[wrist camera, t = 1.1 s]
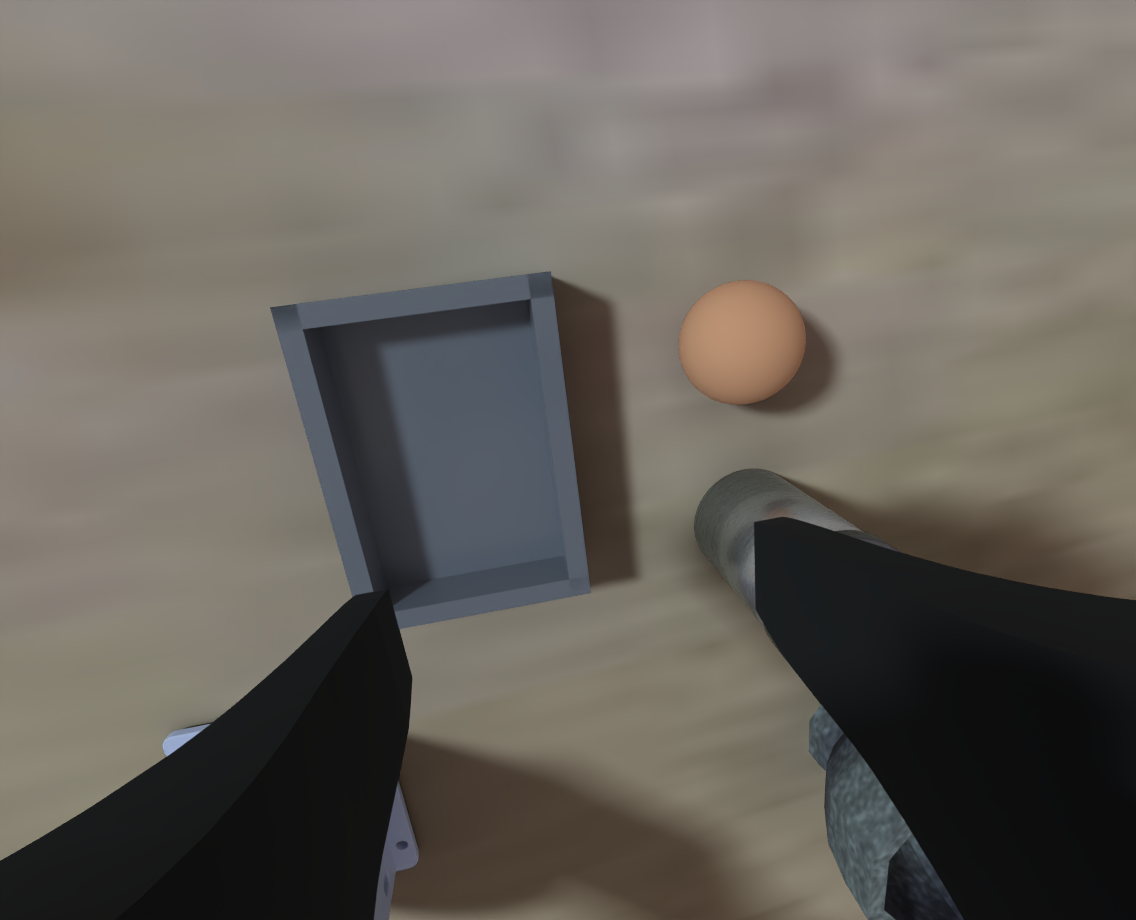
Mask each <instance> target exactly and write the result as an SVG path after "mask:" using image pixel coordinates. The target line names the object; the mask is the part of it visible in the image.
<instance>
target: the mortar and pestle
mask: <svg viewBox="0 0 1136 920" xmlns="http://www.w3.org/2000/svg"><path fill="white" fill-rule="evenodd" d="M809 752H810V753H811V755H812V756H813V757H814V759H815V760H816V761H817V763H818V764H819V765H820V766H821V767H822V768H823V769H824V770H826V784H825V805H824V808H825V817H826V827H827V836H828V844H829V846H830V848H831V851H832V853H833V855H834V858H835V860H836V862H837V864H838V867H839V869H840V871H841V874H842V876H843V878H844V881H845V883H846V884H847V886H848V888H849V889H850V891H851V893H852V894H853V896H854V898H855V899H856V901H857V903H858V904H859V906H860V908H861V909H862V911H863V913H864V914H865V916H866V918H867V919H868V920H964V919H963V917H962V916H961V914H960V912H959V910H958V909H957V907H956V905H955V903H954V902H953V900H952V898H951V896H950V895H949V893H948V891H947V890H946V888H945V886H944V885H943V883H942V881H941V880H940V878H939V876H938V875H937V873H936V871H935V870H934V868H933V867H932V865H931V863H930V862H929V860H928V858H927V857H926V855H925V853H924V852H923V850H922V849H921V847H920V845H919V844H918V842H917V840H916V839H915V837H914V835H913V834H912V832H911V831H910V829H909V827H908V826H907V824H906V823H905V821H904V819H903V818H902V816H901V815H900V813H899V812H898V810H897V809H896V807H895V805H894V804H893V802H892V801H891V799H890V798H889V796H888V795H887V793H886V792H885V790H884V788H883V787H882V785H881V784H880V782H879V781H878V779H877V778H876V776H875V774H874V773H873V771H872V770H871V769H870V767H869V766H868V764H867V763H866V762H865V760H864V759H863V758H862V756H861V755H860V753H859V752H858V751H857V749H856V748H855V747H854V745H853V744H852V743H851V742H850V740H849V739H848V738H847V736H846V735H845V734H844V733H843V731H842V730H841V729H840V728H839V726H838V725H837V724H836V723H835V721H834V720H833V719H832V717H831V716H830V715H829V714H828V712H827V711H826V710H825V709H824V707H823V706H822V705H821V706H820V707H819V709H818V710H817V711H816V713H815V714H814V715H813V717H812V718H811V719H810V731H809Z"/></svg>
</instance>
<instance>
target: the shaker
mask: <svg viewBox="0 0 1136 920" xmlns="http://www.w3.org/2000/svg"><path fill="white" fill-rule="evenodd" d="M778 517H788V518H793V519H797V520H801V521H804V522H807V523H811V524H814V525H817V526H820V527H823V528H827V529H830V530H833V531H836V532H839V533H842V534H845V535H848V536H851V537H854V538H857V539H860V540H863V541H866V542H869V543H872V544H875V545H878V546H881V547H884V548H888V549H891V550H894V551H897V552H900V551H898V550H897V549H896V548H894V547H892V546H891V545H889V544H888V543H886V542H885V541H883V540H882V539H880V538H879V537H877V536H875V535H872V534H870V533H867V532H863V531H862V530H860V529H859V528H857V527H856V526H854V525H853V524H851V523H850V522H848V521H847V520H845V519H844V518H842V517H841V516H839V515H837V514H836V513H834V512H833V511H831V510H830V509H828V508H827V507H825V506H824V505H822V504H821V503H819V502H818V501H816V500H815V499H813V498H812V497H810V496H809V495H807V494H806V493H804V492H803V491H801V490H799V489H798V488H796V487H795V486H793V485H792V484H790V483H789V482H787V481H786V480H784V479H783V478H781V477H780V476H778V475H777V474H775V473H773V472H770V471H767V470H763V469H744V470H740V471H736V472H734V473H731V474H729V475H727V476H725V477H723V478H722V479H720V480H719V481H718V482H716V483H715V484H714V485H713V486H712V487H711V488H710V489H709V490H708V491H707V493H706V494H705V495H704V497H703V498H702V500H701V502H700V504H699V506H698V508H697V512H696V515H695V521H694V531H695V537H696V540H697V543H698V545H699V547H700V549H701V550H702V552H703V553H704V554H705V555H706V557H707V558H708V559H709V560H710V562H711V563H712V564H713V565H714V566H715V568H716V569H717V570H718V571H719V573H720V574H721V575H722V576H723V578H724V579H725V580H726V581H727V582H728V584H729V585H730V586H731V587H732V589H733V590H734V591H735V592H736V593H737V595H738V596H739V597H740V598H741V600H742V601H743V602H744V603H745V605H746V606H747V607H748V608H749V609H750V611H751V612H752V613H753V614H754V616H755V617H756V618H757V619H758V621H759V622H760V623H761V624H762V625H763V627H764V628H765V631H766V633H767V635H768V637H769V638H770V640H771V642H772V643H773V644H774V645H775V647H776V648H777V649H778V647H777V646H776V644H775V642H774V641H773V639H772V638H771V636H770V634H769V633H768V631H767V629H766V627H765V625H764V624H763V622H762V620H761V618H760V617H759V615H758V613H757V611H756V609H755V555H754V522H756V521H761V520H767V519H772V518H778ZM778 650H779V649H778ZM779 652H780V651H779ZM780 653H781V652H780ZM781 654H782V653H781ZM783 657H784V656H783ZM784 658H785V657H784Z"/></svg>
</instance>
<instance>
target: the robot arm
mask: <svg viewBox="0 0 1136 920" xmlns="http://www.w3.org/2000/svg"><path fill="white" fill-rule="evenodd" d="M754 555H755V609H756V611H757V613H758V615H759V617H760V618H761V620H762V622H763V624H764V625H765V627H766V629H767V631H768V633H769V634H770V636H771V638H772V639H773V641H774V642H775V644H776V646H777V647H778V649H779V651H780V652H781V653H782V655H783V656H784V657H785V659H786V660H787V661H788V663H789V664H790V665H791V667H792V668H793V669H794V670H795V672H796V673H797V674H798V676H799V677H800V678H801V679H802V681H803V682H804V683H805V685H806V686H807V687H808V688H809V690H810V691H811V692H812V693H813V695H814V696H815V697H816V699H817V700H818V701H819V702H820V704H821V705H822V706H823V707H824V709H825V710H826V711H827V712H828V714H829V715H830V716H831V717H832V719H833V720H834V721H835V723H836V724H837V725H838V726H839V728H840V729H841V730H842V731H843V733H844V734H845V735H846V736H847V738H848V739H849V740H850V742H851V743H852V744H853V745H854V747H855V748H856V749H857V751H858V752H859V753H860V755H861V756H862V758H863V759H864V760H865V762H866V763H867V764H868V766H869V767H870V769H871V770H872V771H873V773H874V774H875V776H876V778H877V779H878V781H879V782H880V784H881V785H882V787H883V788H884V790H885V792H886V793H887V795H888V796H889V798H890V799H891V801H892V802H893V804H894V805H895V807H896V809H897V810H898V812H899V813H900V815H901V816H902V818H903V819H904V821H905V823H906V824H907V826H908V827H909V829H910V831H911V832H912V834H913V835H914V837H915V839H916V840H917V842H918V844H919V845H920V847H921V849H922V850H923V852H924V853H925V855H926V857H927V858H928V860H929V862H930V863H931V865H932V867H933V868H934V870H935V871H936V873H937V875H938V876H939V878H940V880H941V881H942V883H943V885H944V886H945V888H946V890H947V891H948V893H949V895H950V896H951V898H952V900H953V902H954V903H955V905H956V907H957V909H958V910H959V912H960V914H961V916H962V917H963V919H964V920H1136V600H1128V599H1119V598H1111V597H1104V596H1098V595H1091V594H1085V593H1078V592H1072V591H1065V590H1059V589H1053V588H1047V587H1041V586H1036V585H1030V584H1025V583H1020V582H1015V581H1011V580H1006V579H1001V578H997V577H992V576H988V575H983V574H978V573H974V572H970V571H966V570H962V569H958V568H954V567H950V566H946V565H942V564H939V563H935V562H932V561H928V560H925V559H921V558H917V557H914V556H910V555H907V554H904V553H901V552H897V551H894V550H891V549H888V548H884V547H881V546H878V545H875V544H872V543H869V542H866V541H863V540H860V539H857V538H854V537H851V536H848V535H845V534H842V533H839V532H836V531H833V530H830V529H827V528H823V527H820V526H817V525H814V524H811V523H807V522H804V521H801V520H797V519H793V518H788V517H778V518H772V519H767V520H761V521H756V522H754ZM411 691H412V675H411V671H410V667H409V663H408V660H407V656H406V652H405V649H404V645H403V641H402V637H401V634H400V630H399V626H398V623H397V619H396V615H395V611H394V608H393V604H392V600H391V597H390V593H389V589H385V590H380V591H374V592H369V593H364V594H358V595H355V596H354V597H352V598H351V599H350V600H349V601H348V602H346V603H345V604H344V605H343V606H342V607H341V608H340V609H339V610H338V611H337V612H336V613H334V614H333V615H332V616H331V617H330V618H329V619H328V620H327V621H326V622H325V623H324V624H323V625H322V626H321V627H320V628H319V629H318V630H317V631H316V632H315V633H314V634H313V635H312V636H311V637H310V638H308V639H307V640H306V641H305V642H304V643H303V644H302V645H301V646H300V647H299V648H298V649H297V650H296V651H295V652H294V653H293V654H292V655H291V656H290V657H288V658H287V659H286V660H285V661H284V662H283V663H282V664H281V665H280V666H279V667H277V668H276V669H275V670H274V671H273V672H272V673H271V674H269V675H268V676H267V677H266V678H265V679H264V680H263V681H261V682H260V683H259V684H258V685H257V686H256V687H255V688H253V689H252V690H251V691H250V692H249V693H248V694H247V695H245V696H244V697H243V698H242V699H241V700H240V701H239V702H237V703H236V704H235V705H234V706H233V707H231V708H230V709H229V710H228V711H226V712H225V713H224V714H223V715H221V716H220V717H219V718H218V719H216V720H215V721H214V722H213V723H211V724H207V725H202V726H197V727H192V728H187V729H182V730H177V731H174V732H171V733H170V734H169V735H168V736H167V738H166V739H165V741H164V743H163V750H164V752H165V754H166V756H167V757H165V758H164V759H163V760H161V761H160V762H158V763H157V764H155V765H154V766H152V767H151V768H149V769H148V770H146V771H145V772H143V773H142V774H140V775H139V776H137V777H136V778H134V779H133V780H131V781H130V782H128V783H127V784H125V785H124V786H122V787H121V788H119V789H118V790H116V791H115V792H113V793H111V794H110V795H108V796H107V797H105V798H104V799H102V800H101V801H99V802H98V803H96V804H95V805H93V806H92V807H90V808H89V809H87V810H85V811H84V812H82V813H81V814H79V815H77V816H76V817H74V818H72V819H71V820H69V821H67V822H66V823H64V824H62V825H61V826H59V827H58V828H56V829H54V830H53V831H51V832H49V833H48V834H46V835H44V836H43V837H41V838H39V839H38V840H36V841H34V842H32V843H31V844H29V845H27V846H25V847H24V848H22V849H20V850H18V851H17V852H15V853H13V854H11V855H10V856H8V857H6V858H4V859H3V860H1V861H0V920H389V915H390V908H391V901H392V895H393V888H394V881H395V874H396V871H400V870H405V869H409V868H412V867H414V866H415V865H416V864H417V862H418V859H419V850H418V846H417V843H416V839H415V836H414V832H413V829H412V825H411V822H410V819H409V815H408V812H407V808H406V805H405V801H404V798H403V794H402V791H401V788H400V784H399V781H398V779H399V774H400V770H401V765H402V760H403V755H404V750H405V745H406V740H407V734H408V729H409V719H410V707H411Z"/></svg>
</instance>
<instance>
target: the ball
mask: <svg viewBox="0 0 1136 920" xmlns="http://www.w3.org/2000/svg"><path fill="white" fill-rule="evenodd" d="M805 347H806V331H805V325H804V322H803V319H802V316H801V314H800V312H799V310H798V308H797V307H796V305H795V304H794V303H793V301H792V300H791V299H790V298H789V297H788V296H787V295H786V294H784V293H783V292H782V291H780V290H779V289H777V288H775V287H773V286H771V285H769V284H766V283H762V282H758V281H750V280H743V281H734V282H730V283H726V284H723V285H720V286H718V287H716V288H714V289H713V290H711V291H709V292H708V293H706V294H705V295H704V296H702V297H701V298H700V299H699V300H698V301H697V302H696V303H695V304H694V306H693V307H692V308H691V310H690V311H689V313H688V314H687V316H686V318H685V320H684V322H683V325H682V328H681V331H680V336H679V356H680V361H681V365H682V367H683V370H684V372H685V374H686V376H687V377H688V379H689V380H690V382H691V383H692V384H693V385H694V386H695V387H696V388H697V389H698V390H699V391H700V392H702V393H703V394H704V395H706V396H707V397H709V398H711V399H713V400H716V401H719V402H722V403H726V404H736V405H743V404H751V403H755V402H759V401H762V400H764V399H767V398H769V397H771V396H772V395H774V394H775V393H777V392H778V391H780V390H781V389H782V388H783V387H785V386H786V385H787V384H788V383H789V381H790V380H791V379H792V378H793V376H794V375H795V374H796V372H797V370H798V369H799V367H800V364H801V362H802V359H803V356H804V352H805Z"/></svg>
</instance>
